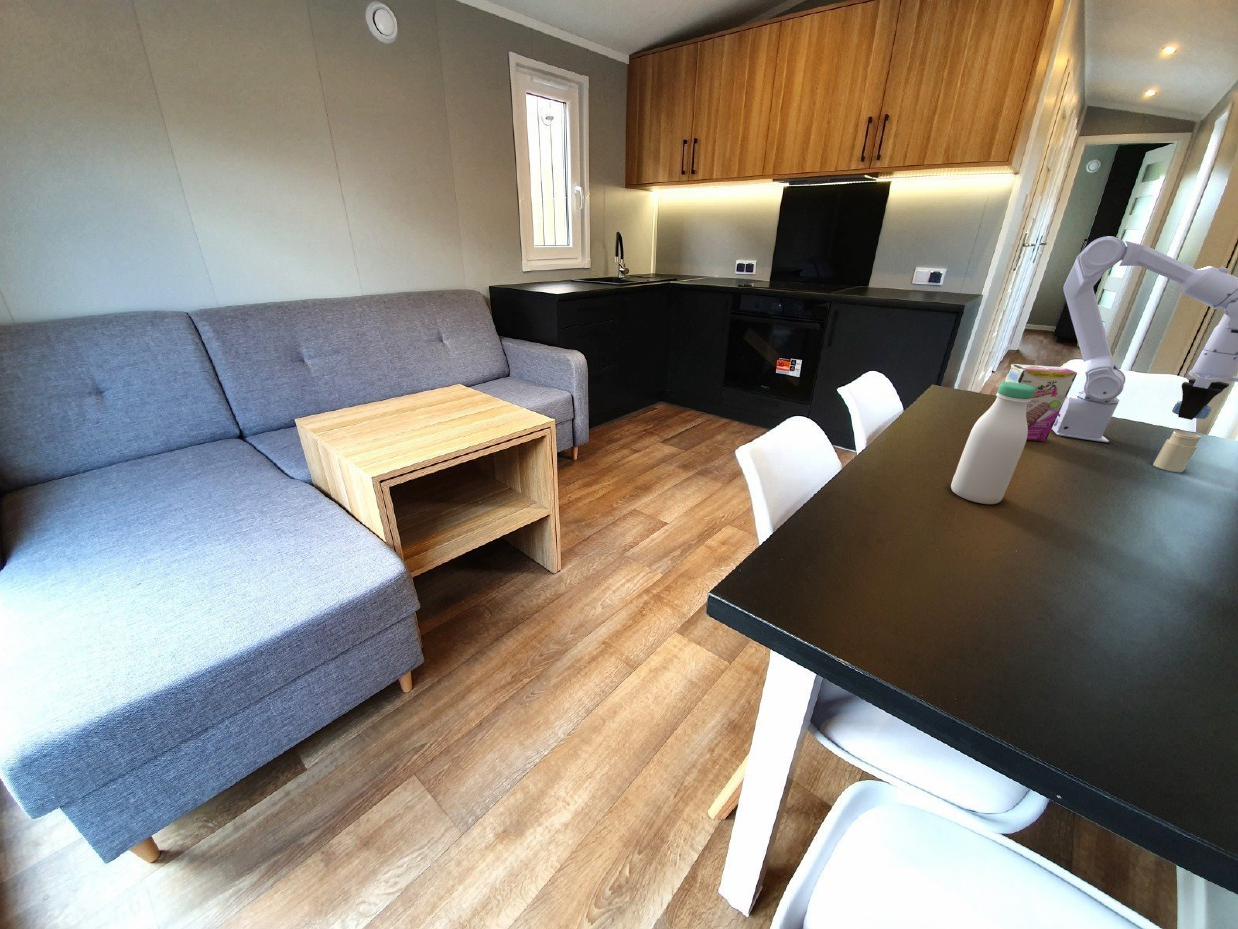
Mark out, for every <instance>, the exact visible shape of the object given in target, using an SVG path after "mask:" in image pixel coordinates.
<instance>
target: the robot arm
mask: <svg viewBox="0 0 1238 929" xmlns="http://www.w3.org/2000/svg"><path fill="white" fill-rule="evenodd" d="M1119 262H1120V263H1119ZM1118 263H1119V266H1120V267H1140V268H1143V269H1145V270H1148V271H1150V272H1153V273H1155V274H1158V275H1160V276H1162V277H1163V278H1167V279H1169V280H1172V281H1174V282H1177V283H1178V284H1180V292H1181V294H1182V295H1184V296H1186V297H1189V298H1190V299H1192V300H1195V301H1197V302H1199V303H1202V304H1204V305H1206V306H1208V307H1210V308H1212V309H1214V310H1219V309H1220V310H1221V309H1222V310H1223V311H1224V312H1225V313H1223V315H1222V317H1221V318H1220V321H1219V322H1218V324H1217V325H1216V326H1215V327H1214V328H1213V330H1212V332H1211V334H1210V336H1209V338H1207V339H1208V340H1207V342H1206V343H1205V345H1204V347H1203V348H1202V351H1201V352H1200V353H1199V356H1198V358H1197V360H1196V362H1195V364H1194V365H1193V367H1192V369H1190V370H1189V372H1188V376H1190V377H1192V378H1189V379H1188V381H1183V382H1182V384H1181V391H1182V396H1181V401H1182V402H1181V406H1180V410H1179V414H1177V416H1178V418H1181V419H1184V420H1185V419H1186V420H1190V421H1193V420H1194V419H1196V418H1195V417H1196V416H1197V415H1198V413H1199V412H1200V411H1201V410H1202V409H1203V407H1204V406H1205V405H1207V406H1209V405H1208V404H1210V402H1212V400H1213V399H1214V398H1215V397H1216V396H1218V395H1219V394H1221V393H1222V392H1223V391H1224V390H1225V389H1227V388H1228V387H1229V386H1230V383H1228V382H1236V383H1238V376H1235V374H1236V372H1237V371H1238V277H1237V276H1235V275H1233V274H1231V273H1228V272H1229V271H1230V269H1228V268H1226V267H1224V266H1219V268H1217V267H1215V266H1206V267H1202V268H1197V269H1196V268H1194V267H1193V266H1190V265H1188V264H1186V263H1184V262H1182V261H1179V260H1177V259H1175V258H1174V257H1171V256H1169V255H1167V254H1165V253H1163V252H1160V251H1159V250H1157V249H1155V248H1152V247H1150V246H1148V245H1145V244H1141V243H1137V242H1132V241H1128V240H1125V242H1124V240H1122V239H1120V238H1119V237H1115V236H1108V235H1107V236H1102V237H1099V238H1096V239H1094V240H1093V241H1091V242H1090V243H1089V244H1088V245H1087V246H1086V247H1085V248H1084V249H1083V250H1082V251H1081V252H1080V253H1079V254H1078V255H1077V256H1076V258H1075V261H1074V263H1073V266H1072V268H1071V269H1070V272H1069V274H1068V275H1067V278H1066V280H1065V282H1064V284H1063V294H1064V297H1065V301H1066V304H1067V307H1068V311H1069V315H1070V319H1071V322H1072V325H1073V329H1074V332H1075V336H1076V340H1077V343H1078V346H1079V350H1080V353H1081V357H1082V361H1083V367H1084V374H1085V382H1084V385H1083V390H1082V391H1079V392H1078V393H1077V394H1076V395H1067V397H1066V399H1065V401H1064V403H1063V405H1062V407H1061V410H1060V412H1059V414H1058V416H1057V418H1056V420H1055V423H1054V425H1053V427H1052V429H1051V431H1053V432H1054V433H1055V434H1056V435H1057V436H1060V437H1066V438H1072V439H1080V440H1087V441H1094V442H1100V443H1106V444H1107V443H1109V442H1110V440H1109V439H1108V438H1107V437H1105V436H1104V433H1105V431H1106V430H1107V427H1108V425H1109V423H1110V421H1111V419H1112V417H1113V416H1114V413H1115V411H1116V409H1117V406H1118V405H1119V403H1120V399H1119V398H1118V397H1119V396H1120V395H1121V393H1122V392H1123V391H1124V386H1125V384H1126V376H1125V374H1124V372H1123V371H1122V370H1120V369H1119V368H1118V367H1117V364H1116V362H1115V359H1114V357H1113V355H1112V351H1111V348H1110V343H1109V341H1108V337H1107V334H1106V329H1105V325H1104V323H1103V319H1102V315H1101V312H1100V308H1099V305H1098V301H1097V298H1096V294H1095V290H1094V286H1095V285H1096V284H1097V282H1099V280H1100V279H1101V278H1102V277H1103V276H1104V273H1105V272H1107V271H1108V270H1109V269H1111V268H1112V267H1114V266H1115V265H1116V264H1118Z"/></svg>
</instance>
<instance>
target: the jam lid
mask: <svg viewBox="0 0 1238 929" xmlns="http://www.w3.org/2000/svg"><path fill="white" fill-rule="evenodd" d="M1181 402H1182V400H1178V401H1177V402H1176V403H1175V405H1174V406H1173V407H1172V409H1171V412H1172V413H1173V414H1175V415H1178V414H1179V410H1180V406H1181ZM1212 409H1213V407H1211V406H1210V405H1205V406H1204V407H1203V409H1202V410H1201V411H1200V412H1199V413H1198V415H1197V416H1196V417H1195V418H1194V419H1198V420H1199V419H1200V420H1205V419H1207V418H1208V417H1209V416H1210V414H1211V412H1212Z"/></svg>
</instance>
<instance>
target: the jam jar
mask: <svg viewBox="0 0 1238 929" xmlns="http://www.w3.org/2000/svg"><path fill="white" fill-rule="evenodd" d="M1200 440H1202V436H1201V435H1199V434H1198V433H1194V432H1190V431H1186V430H1179V429H1177V430H1176V429H1175V430H1173V431H1172V433H1171V435H1170V437H1169V438H1166V440H1165V442H1164V443H1163V445H1162V447H1161V449H1160V451H1159V452H1158V454H1157V456H1156V458H1155V460H1154V461H1153V463H1152V465H1153V467H1156V468H1157V469H1160V470H1164V471H1167V472H1173V473H1183V472H1185V469H1186V468H1187V465H1188V464H1189V463H1190V461H1191V459H1192V457H1193V456H1194V454H1195V452H1196V451H1197V449H1198V443H1199V441H1200Z"/></svg>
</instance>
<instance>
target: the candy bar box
mask: <svg viewBox="0 0 1238 929" xmlns="http://www.w3.org/2000/svg"><path fill="white" fill-rule="evenodd" d="M1077 375H1078V372H1077V371H1075V370H1072V369H1069V368H1066V367H1063V366H1052V365H1051V366H1049V365H1033V364H1021V363H1020V364H1018V363H1011V364H1010V366H1009V368H1008V372H1007V374H1006V376H1005V379H1004V382H1015V383H1021V384H1026V385H1029V386H1032V387H1034V388H1035V392H1034V394H1033V397H1032V398H1031V401H1030V402H1028V404H1027V407H1026V420H1027V426H1028V435H1027V440H1026V441H1031V442H1033V441H1034V442H1044V443H1045V442H1046V441H1047V440H1048V437H1049V435H1050V433H1051V431H1052V427H1053V425H1054V423H1055V420H1056V418H1057V416H1058V414H1059V412H1060V410H1061V407H1062V405H1063V403H1064V401H1065V399H1066V397H1067V396H1069V392H1070V391H1071V388H1072V386H1073V383H1074V382H1075V379H1076V378H1077Z"/></svg>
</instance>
